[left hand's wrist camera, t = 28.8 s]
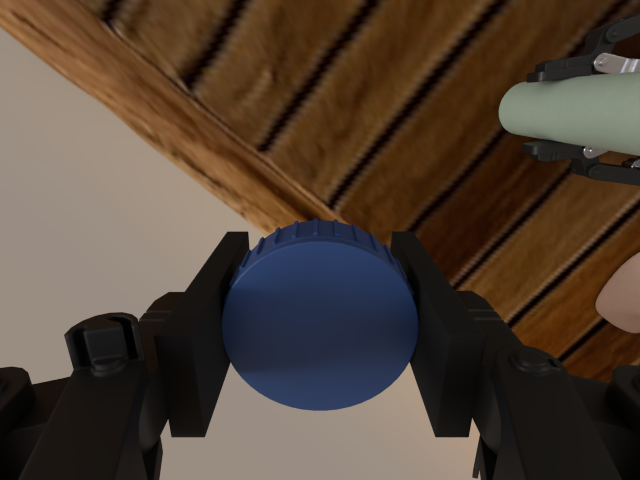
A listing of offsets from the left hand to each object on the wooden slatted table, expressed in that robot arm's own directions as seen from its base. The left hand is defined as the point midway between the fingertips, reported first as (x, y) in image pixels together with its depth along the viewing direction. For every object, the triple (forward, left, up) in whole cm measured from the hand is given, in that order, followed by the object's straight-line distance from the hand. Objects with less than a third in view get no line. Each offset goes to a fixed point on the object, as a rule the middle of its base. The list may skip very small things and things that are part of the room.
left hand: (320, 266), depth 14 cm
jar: (-15, +13, -25) cm, 32 cm away
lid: (0, 0, +4) cm, 4 cm away
